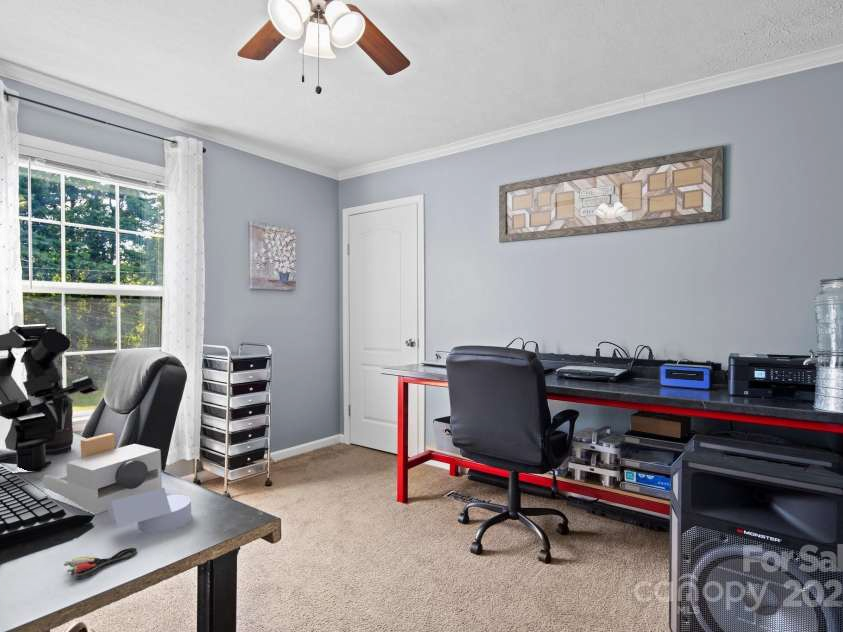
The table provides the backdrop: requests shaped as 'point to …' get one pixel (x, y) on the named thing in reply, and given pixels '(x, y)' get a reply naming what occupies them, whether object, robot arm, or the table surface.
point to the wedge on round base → (151, 511)
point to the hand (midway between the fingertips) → (60, 429)
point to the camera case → (109, 477)
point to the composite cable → (96, 563)
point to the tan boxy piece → (97, 445)
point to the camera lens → (61, 435)
